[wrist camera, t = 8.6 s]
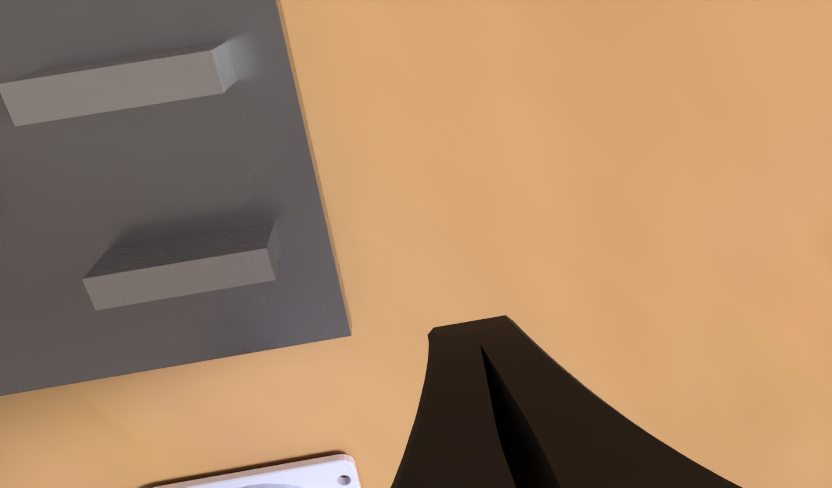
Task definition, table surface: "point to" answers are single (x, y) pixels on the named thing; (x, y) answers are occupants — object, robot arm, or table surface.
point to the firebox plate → (155, 190)
